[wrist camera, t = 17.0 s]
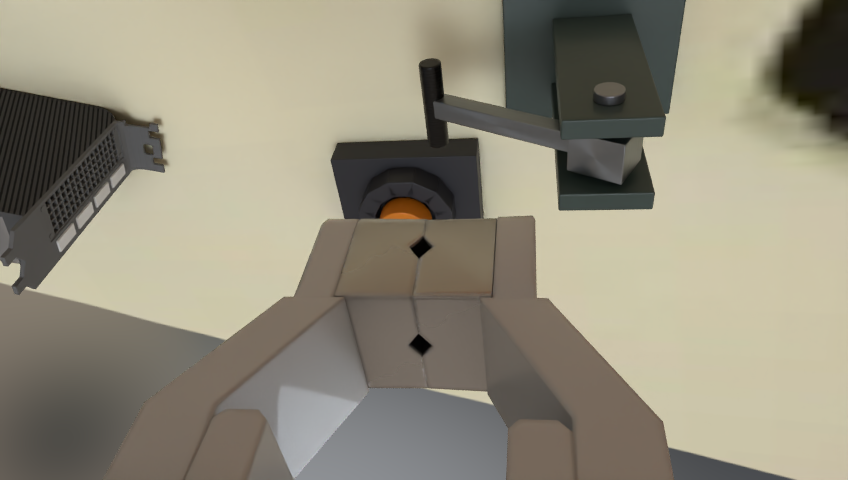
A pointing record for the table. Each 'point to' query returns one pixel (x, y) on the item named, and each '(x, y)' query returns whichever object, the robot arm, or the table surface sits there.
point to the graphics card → (59, 175)
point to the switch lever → (523, 129)
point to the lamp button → (405, 209)
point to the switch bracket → (594, 81)
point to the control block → (409, 177)
